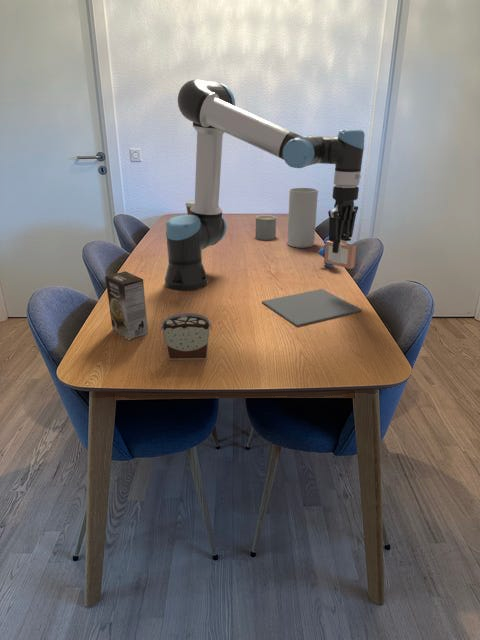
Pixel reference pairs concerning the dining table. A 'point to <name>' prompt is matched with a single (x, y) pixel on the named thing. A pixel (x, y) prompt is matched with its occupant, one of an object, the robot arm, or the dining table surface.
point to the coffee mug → (265, 227)
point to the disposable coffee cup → (189, 206)
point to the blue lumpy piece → (322, 252)
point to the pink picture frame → (346, 255)
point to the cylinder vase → (302, 217)
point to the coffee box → (127, 304)
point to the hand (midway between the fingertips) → (338, 261)
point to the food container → (186, 336)
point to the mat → (310, 307)
